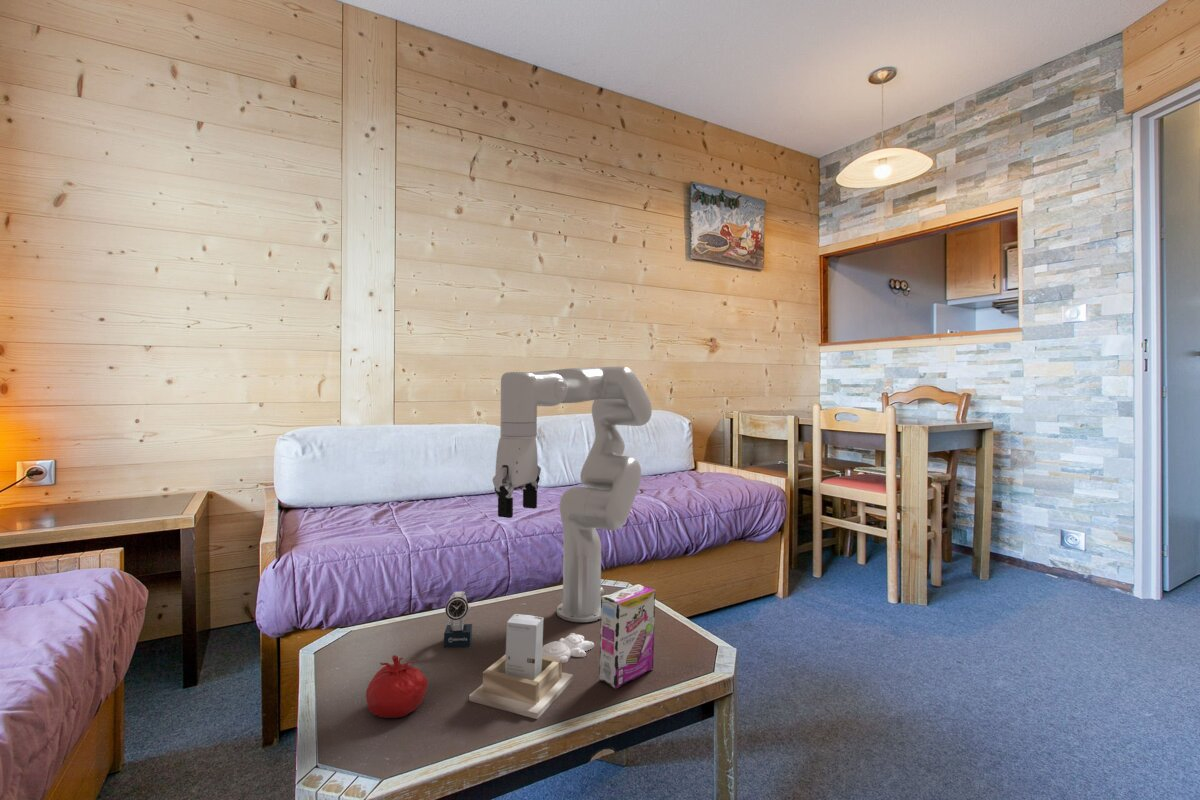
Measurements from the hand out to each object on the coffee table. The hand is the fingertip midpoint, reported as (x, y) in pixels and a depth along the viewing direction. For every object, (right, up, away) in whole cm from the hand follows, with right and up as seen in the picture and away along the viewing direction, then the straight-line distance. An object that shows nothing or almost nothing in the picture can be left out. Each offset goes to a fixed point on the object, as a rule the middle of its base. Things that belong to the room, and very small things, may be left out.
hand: (518, 512), depth 115 cm
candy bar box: (+23, -31, -7) cm, 39 cm away
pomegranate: (-18, -31, -19) cm, 41 cm away
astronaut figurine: (+10, -31, +3) cm, 33 cm away
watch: (-14, -30, +6) cm, 34 cm away
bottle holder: (+3, -31, -13) cm, 33 cm away
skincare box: (+3, -30, -12) cm, 32 cm away
